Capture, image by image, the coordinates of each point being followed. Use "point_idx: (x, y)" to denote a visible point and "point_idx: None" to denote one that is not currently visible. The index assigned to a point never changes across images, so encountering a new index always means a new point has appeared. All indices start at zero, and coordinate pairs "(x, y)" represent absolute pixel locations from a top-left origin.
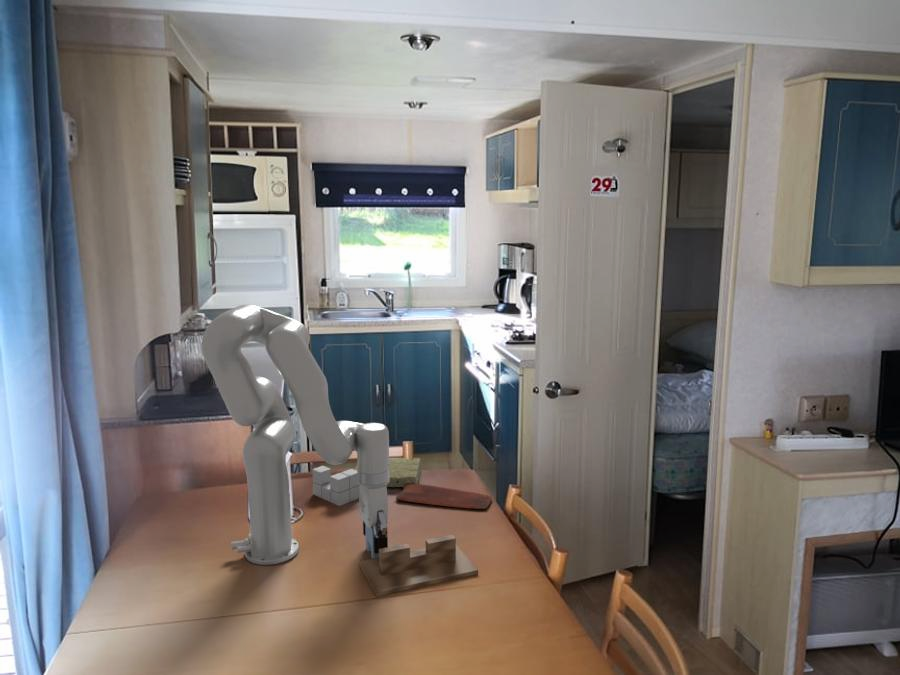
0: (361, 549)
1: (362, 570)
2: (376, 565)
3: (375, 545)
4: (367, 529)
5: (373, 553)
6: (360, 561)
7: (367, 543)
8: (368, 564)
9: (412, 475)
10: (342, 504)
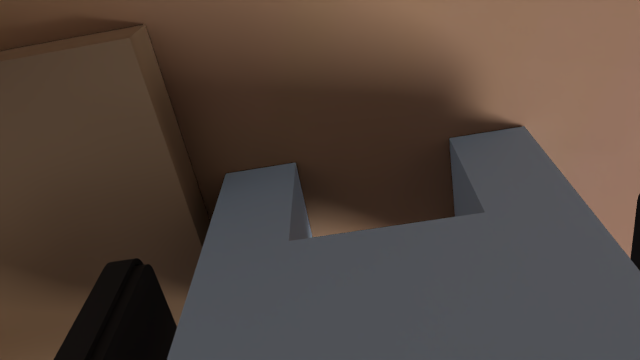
0: (520, 76)
1: (21, 47)
2: (30, 210)
3: (68, 349)
4: (511, 343)
5: (210, 224)
6: (126, 49)
7: (470, 186)
8: (54, 134)
9: None
10: None
